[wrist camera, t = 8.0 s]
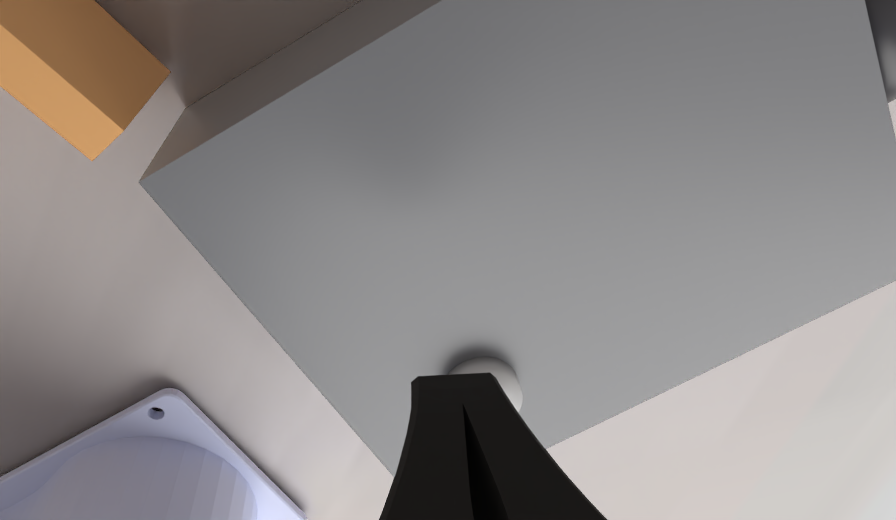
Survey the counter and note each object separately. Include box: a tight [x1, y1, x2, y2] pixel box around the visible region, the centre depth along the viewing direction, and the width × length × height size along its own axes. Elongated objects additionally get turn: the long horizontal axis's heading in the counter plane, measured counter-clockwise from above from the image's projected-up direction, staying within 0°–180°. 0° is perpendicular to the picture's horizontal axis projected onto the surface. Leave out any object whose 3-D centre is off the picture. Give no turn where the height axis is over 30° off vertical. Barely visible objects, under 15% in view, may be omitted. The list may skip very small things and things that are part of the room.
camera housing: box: [139, 0, 896, 477], centre depth 19 cm, size 17×12×6 cm
